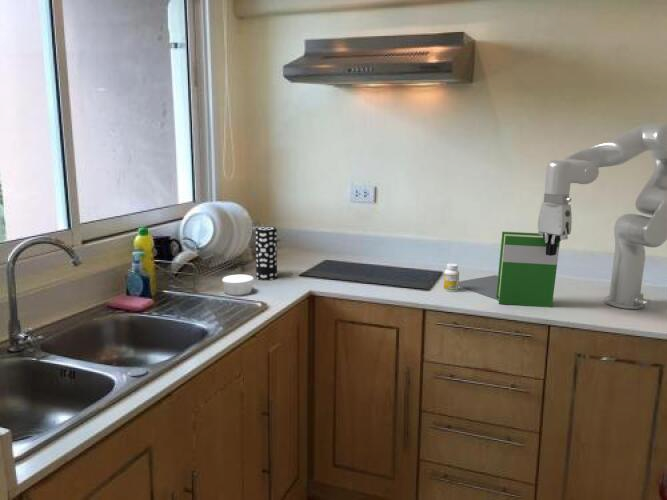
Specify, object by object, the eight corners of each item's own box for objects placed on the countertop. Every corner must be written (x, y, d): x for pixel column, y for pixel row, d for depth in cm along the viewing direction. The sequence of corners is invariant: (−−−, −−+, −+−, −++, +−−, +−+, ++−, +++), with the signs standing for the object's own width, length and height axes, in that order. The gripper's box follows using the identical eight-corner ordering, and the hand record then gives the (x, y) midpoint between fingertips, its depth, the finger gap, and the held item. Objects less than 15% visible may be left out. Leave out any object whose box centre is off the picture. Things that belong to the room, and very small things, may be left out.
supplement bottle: (448, 286, 217) (450, 262, 215) (460, 289, 213) (462, 264, 211) (440, 289, 213) (442, 264, 211) (452, 292, 210) (454, 267, 208)
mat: (547, 292, 212) (547, 291, 212) (501, 301, 200) (501, 300, 200) (495, 275, 234) (495, 275, 234) (451, 283, 222) (451, 282, 222)
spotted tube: (280, 278, 226) (280, 229, 222) (262, 281, 221) (261, 231, 217) (271, 273, 233) (270, 225, 228) (252, 276, 228) (251, 227, 224)
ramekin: (216, 294, 205) (216, 280, 204) (233, 286, 215) (232, 272, 214) (243, 298, 201) (243, 283, 200) (259, 289, 211) (259, 276, 210)
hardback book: (499, 303, 197) (505, 235, 191) (495, 296, 204) (502, 231, 198) (551, 307, 194) (560, 238, 189) (547, 300, 202) (554, 234, 196)
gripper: (584, 201, 179) (577, 258, 183) (545, 196, 191) (540, 249, 195) (568, 203, 175) (562, 260, 179) (529, 197, 187) (524, 251, 191)
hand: (550, 254), depth 187 cm, fingers closed
